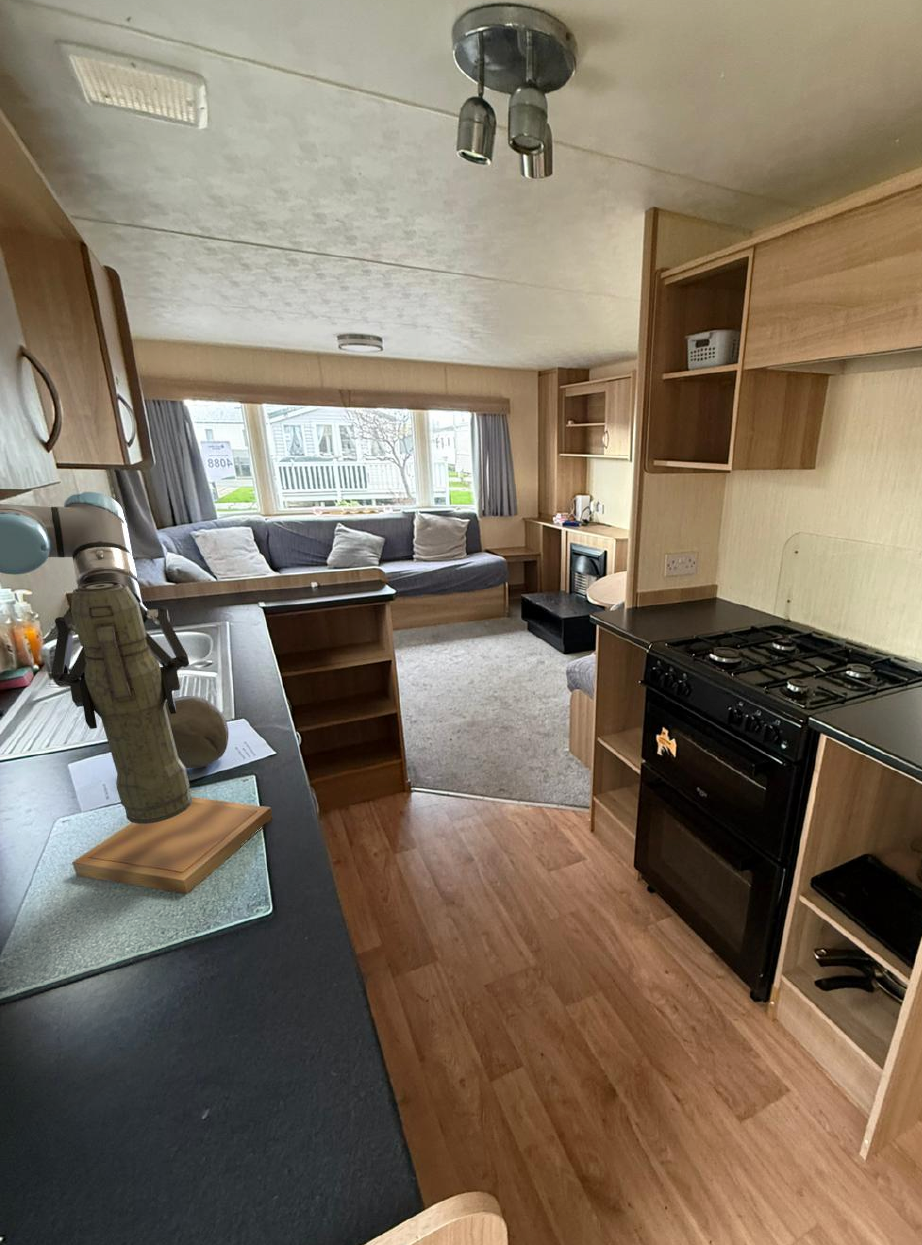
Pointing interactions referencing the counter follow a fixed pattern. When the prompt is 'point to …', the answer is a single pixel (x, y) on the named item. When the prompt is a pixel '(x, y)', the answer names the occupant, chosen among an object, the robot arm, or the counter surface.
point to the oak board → (174, 846)
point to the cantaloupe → (198, 731)
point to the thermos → (130, 702)
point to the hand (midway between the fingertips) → (133, 717)
